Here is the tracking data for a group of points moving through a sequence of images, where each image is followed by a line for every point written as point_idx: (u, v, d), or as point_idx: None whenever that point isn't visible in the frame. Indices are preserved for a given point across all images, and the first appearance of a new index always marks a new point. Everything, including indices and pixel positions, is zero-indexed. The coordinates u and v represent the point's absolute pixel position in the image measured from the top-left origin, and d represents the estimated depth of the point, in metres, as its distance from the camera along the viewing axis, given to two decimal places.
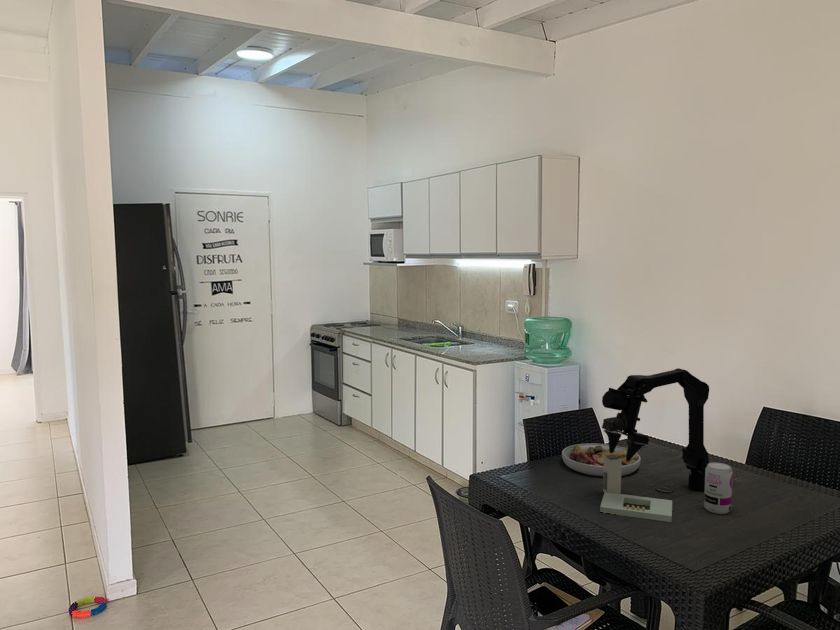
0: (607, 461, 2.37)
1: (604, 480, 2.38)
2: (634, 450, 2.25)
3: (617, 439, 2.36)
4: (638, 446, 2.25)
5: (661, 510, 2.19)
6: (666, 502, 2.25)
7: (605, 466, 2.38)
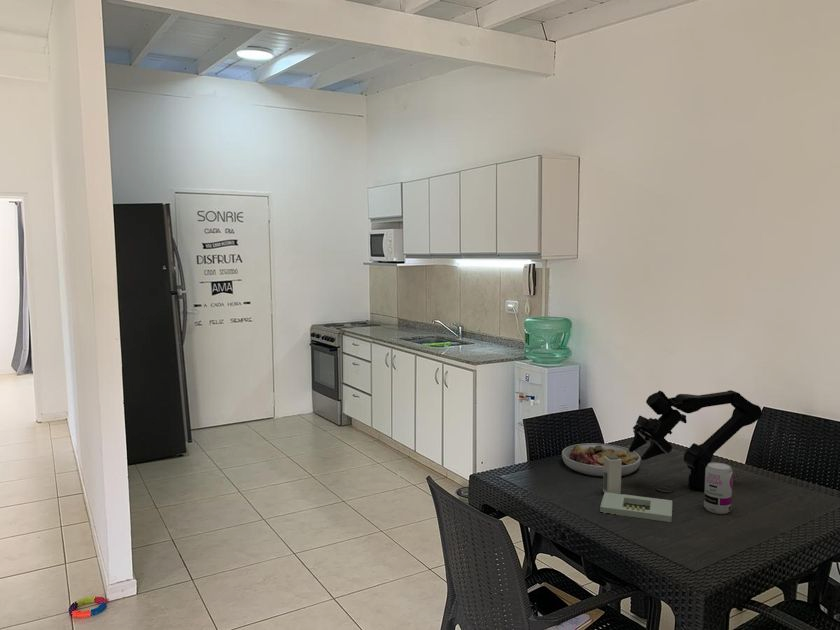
0: (607, 461, 2.37)
1: (604, 480, 2.38)
2: (653, 453, 2.33)
3: (641, 443, 2.44)
4: (658, 451, 2.33)
5: (661, 510, 2.19)
6: (666, 502, 2.25)
7: (605, 466, 2.38)
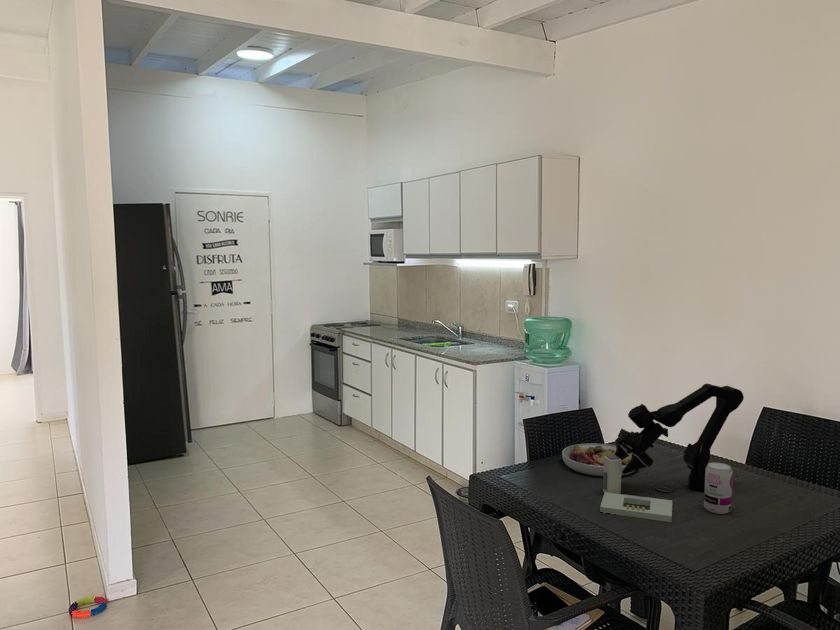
0: (607, 461, 2.37)
1: (604, 480, 2.38)
2: (634, 467, 2.32)
3: (623, 457, 2.43)
4: (639, 465, 2.32)
5: (661, 510, 2.19)
6: (666, 502, 2.25)
7: (605, 466, 2.38)
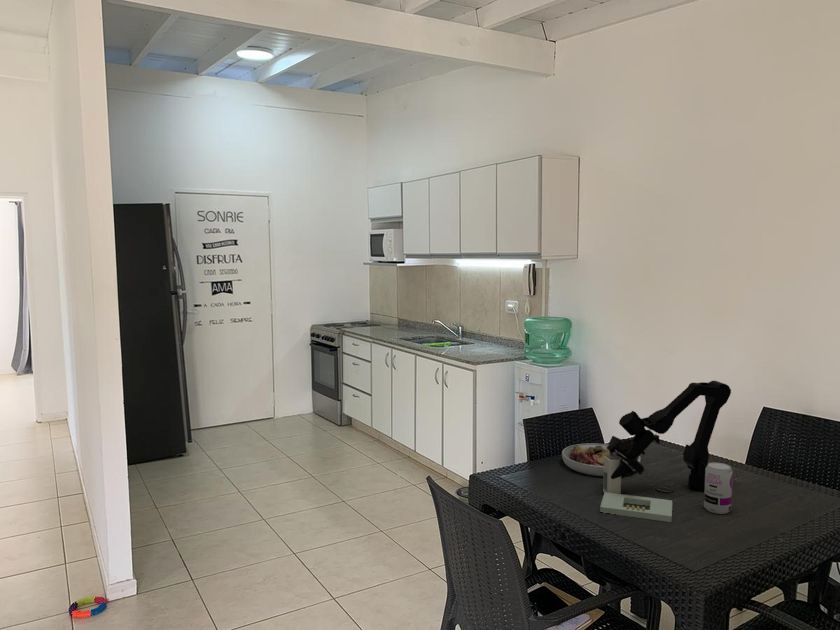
0: (607, 461, 2.37)
1: (604, 480, 2.38)
2: (622, 472, 2.34)
3: None
4: (628, 470, 2.34)
5: (661, 510, 2.19)
6: (666, 502, 2.25)
7: (605, 466, 2.38)
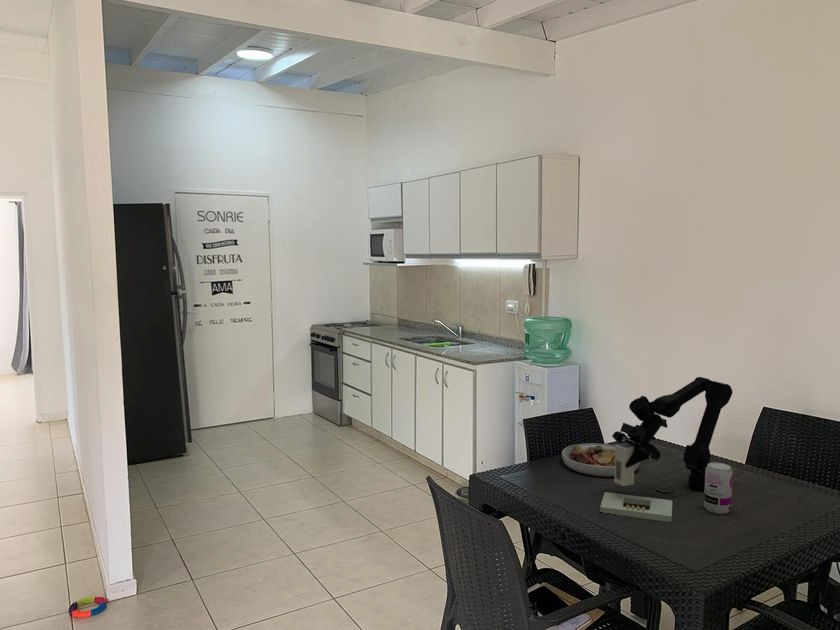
0: (620, 450, 2.27)
1: (617, 469, 2.28)
2: (637, 459, 2.26)
3: None
4: (642, 457, 2.26)
5: (661, 510, 2.19)
6: (666, 502, 2.25)
7: (617, 455, 2.29)
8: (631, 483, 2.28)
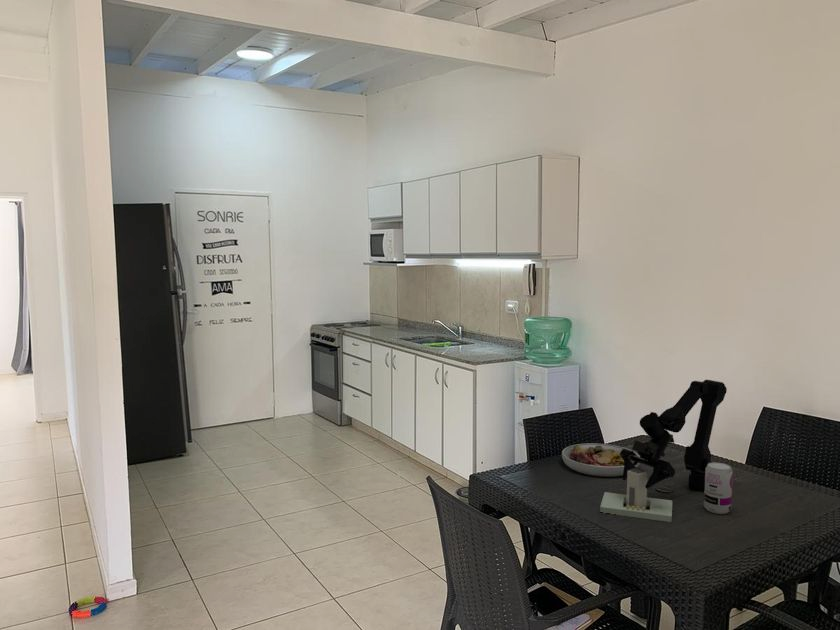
0: (633, 476, 2.22)
1: (631, 496, 2.23)
2: (656, 479, 2.20)
3: None
4: (661, 477, 2.20)
5: (661, 510, 2.19)
6: (666, 502, 2.25)
7: (630, 481, 2.23)
8: None
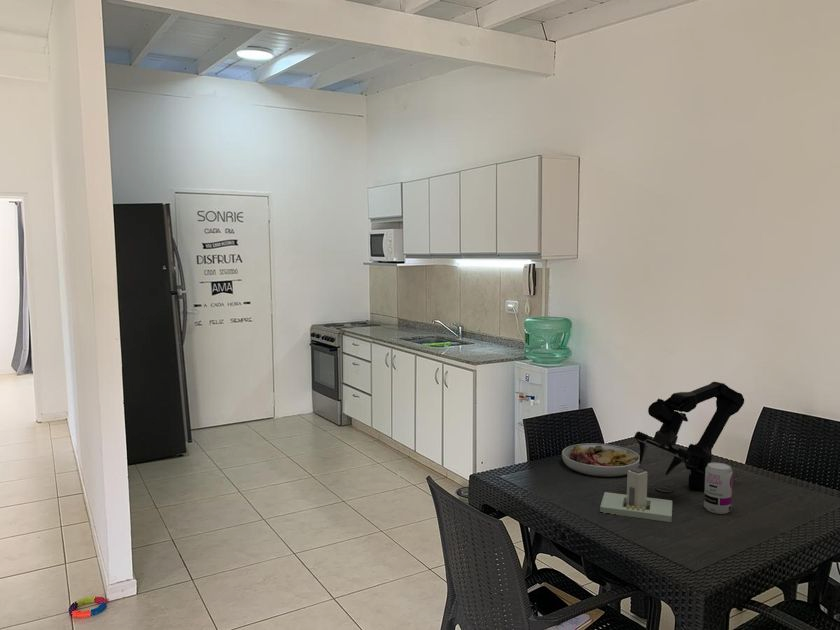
0: (633, 476, 2.22)
1: (631, 496, 2.23)
2: (674, 466, 2.30)
3: (645, 451, 2.36)
4: (678, 462, 2.31)
5: (661, 510, 2.19)
6: (666, 502, 2.25)
7: (630, 481, 2.23)
8: None
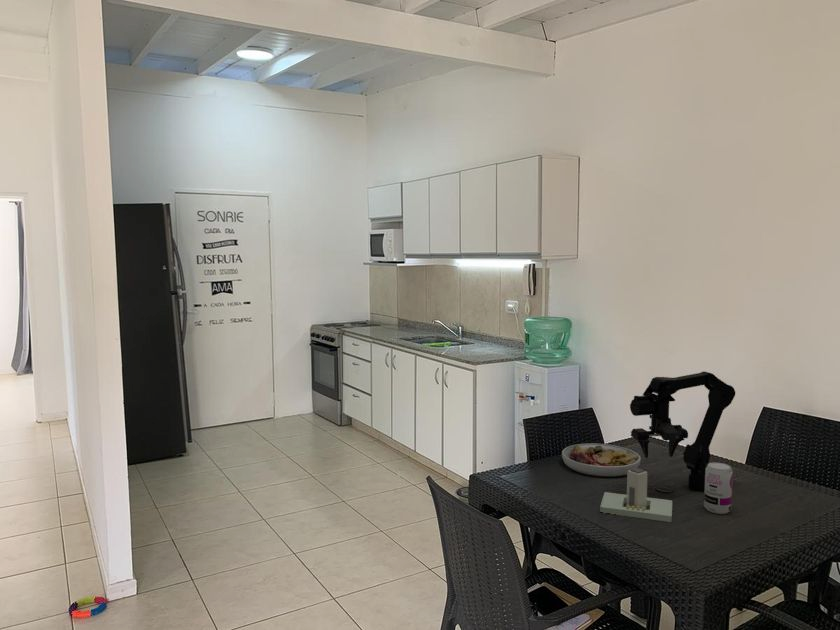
0: (633, 476, 2.22)
1: (631, 496, 2.23)
2: None
3: None
4: None
5: (661, 510, 2.19)
6: (666, 502, 2.25)
7: (630, 481, 2.23)
8: None
